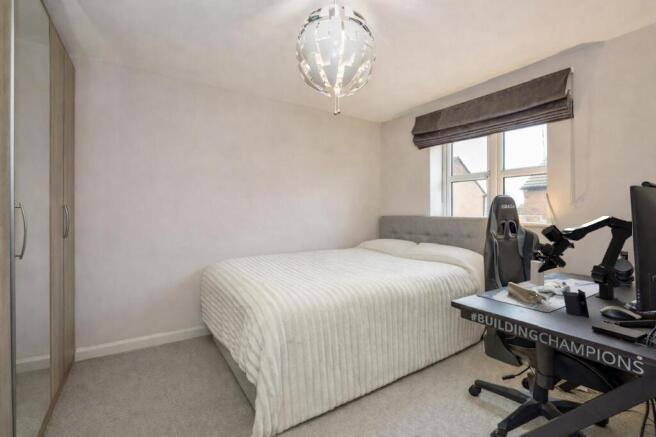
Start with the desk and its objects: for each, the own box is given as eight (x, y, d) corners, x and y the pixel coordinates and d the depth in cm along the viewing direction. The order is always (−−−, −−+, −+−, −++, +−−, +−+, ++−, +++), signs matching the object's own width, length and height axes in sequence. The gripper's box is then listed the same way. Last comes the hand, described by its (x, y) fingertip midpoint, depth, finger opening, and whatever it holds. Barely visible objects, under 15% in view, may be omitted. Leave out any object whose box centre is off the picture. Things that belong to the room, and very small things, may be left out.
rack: (531, 293, 155) (531, 282, 155) (552, 302, 139) (553, 290, 139) (508, 293, 156) (508, 282, 156) (527, 302, 140) (527, 290, 140)
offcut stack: (524, 295, 153) (524, 286, 153) (537, 301, 143) (537, 292, 143) (516, 295, 153) (516, 286, 153) (529, 301, 143) (529, 292, 143)
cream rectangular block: (536, 283, 150) (536, 260, 150) (544, 286, 144) (544, 262, 144) (530, 283, 150) (530, 260, 150) (537, 286, 145) (537, 262, 144)
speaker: (588, 313, 124) (585, 288, 124) (589, 318, 120) (586, 292, 120) (565, 311, 129) (562, 287, 129) (565, 315, 125) (562, 291, 125)
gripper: (533, 235, 156) (511, 256, 157) (559, 238, 137) (534, 262, 138) (548, 250, 156) (527, 271, 156) (577, 255, 137) (552, 279, 138)
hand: (534, 270), depth 147 cm, fingers closed on cream rectangular block, 5 cm apart
